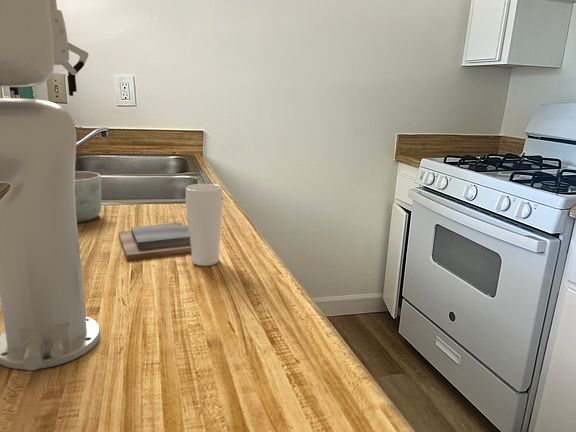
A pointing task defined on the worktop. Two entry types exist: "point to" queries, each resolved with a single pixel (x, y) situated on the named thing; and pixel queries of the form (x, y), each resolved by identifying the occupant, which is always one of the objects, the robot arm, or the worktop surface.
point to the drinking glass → (204, 222)
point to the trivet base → (150, 251)
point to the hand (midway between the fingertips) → (44, 95)
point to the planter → (87, 195)
